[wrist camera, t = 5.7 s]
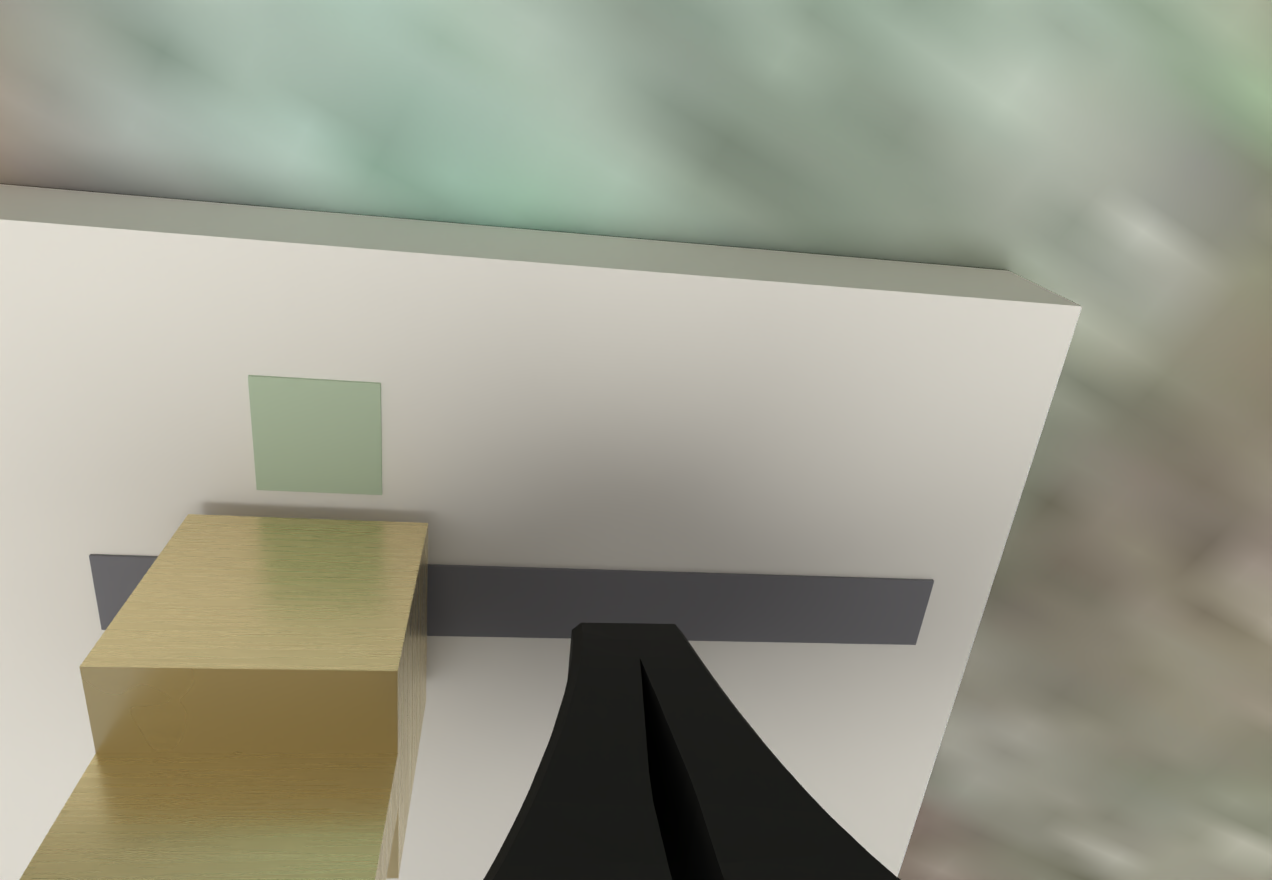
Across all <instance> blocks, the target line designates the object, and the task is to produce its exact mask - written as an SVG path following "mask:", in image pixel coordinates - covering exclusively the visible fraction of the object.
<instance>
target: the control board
mask: <svg viewBox="0 0 1272 880" xmlns="http://www.w3.org/2000/svg"><path fill="white" fill-rule="evenodd" d="M1081 309H1082V306H1080V305H1078V304H1076V303H1074V302H1072V301H1070V300H1068V299H1066V298H1064V297H1062V296H1060V295H1058V294H1056V293H1054V292H1052V291H1050V290H1048V289H1045V288H1043V287H1041V286H1039V285H1037V284H1035V283H1033V282H1031V281H1029V280H1027V279H1025V278H1023V277H1021V276H1019V275H1017V274H1015V273H1013V272H1011V271H1007V270H996V269H984V268H972V267H961V266H949V265H937V264H926V263H914V262H903V261H891V260H879V259H868V258H856V257H844V256H833V255H821V254H809V253H798V252H786V251H774V250H763V249H751V248H739V247H728V246H716V245H704V244H693V243H681V242H669V241H658V240H646V239H635V238H623V237H611V236H600V235H588V234H576V233H565V232H553V231H541V230H530V229H518V228H506V227H495V226H483V225H471V224H460V223H448V222H436V221H425V220H413V219H401V218H390V217H378V216H367V215H355V214H343V213H332V212H320V211H308V210H297V209H285V208H273V207H262V206H250V205H238V204H227V203H215V202H203V201H192V200H180V199H168V198H157V197H145V196H133V195H122V194H110V193H99V192H87V191H75V190H64V189H52V188H40V187H29V186H17V185H5V184H0V880H19V879H20V878H21V876H22V874H23V873H24V871H25V870H26V868H27V866H28V865H29V863H30V861H31V860H32V858H33V856H34V855H35V853H36V851H37V850H38V848H39V846H40V845H41V843H42V841H43V840H44V838H45V836H46V835H47V833H48V831H49V830H50V828H51V826H52V825H53V823H54V822H55V820H56V818H57V817H58V815H59V813H60V812H61V810H62V808H63V807H64V805H65V803H66V802H67V800H68V798H69V797H70V795H71V793H72V792H73V790H74V788H75V787H76V785H77V783H78V782H79V780H80V778H81V777H82V775H83V774H84V772H85V770H86V769H87V767H88V765H89V764H90V762H91V760H92V759H93V757H94V755H95V754H96V752H95V747H94V742H93V736H92V731H91V726H90V721H89V715H88V710H87V705H86V699H85V694H84V689H83V683H82V678H81V673H80V668H79V667H80V665H81V664H82V662H83V661H84V660H85V658H86V657H87V655H88V654H89V653H90V651H91V650H92V648H93V647H94V646H95V644H96V643H97V641H98V640H99V639H100V637H101V636H102V634H103V633H104V632H105V630H106V629H107V627H108V626H109V625H110V623H111V622H112V620H113V619H114V618H115V616H116V615H117V613H118V612H119V610H120V609H121V608H122V606H123V605H124V603H125V602H126V601H127V599H128V598H129V596H130V595H131V594H132V592H133V591H134V589H135V588H136V587H137V585H138V584H139V582H140V581H141V580H142V578H143V577H144V575H145V574H146V573H147V571H148V570H149V568H150V567H151V566H152V564H153V563H154V561H155V560H156V559H157V557H158V556H159V554H160V553H161V552H162V550H163V549H164V547H165V546H166V545H167V543H168V542H169V540H170V539H171V538H172V536H173V535H174V533H175V532H176V531H177V529H178V528H179V526H180V525H181V524H182V522H183V521H184V519H185V518H186V517H187V515H188V514H197V515H225V516H252V517H279V518H306V519H333V520H360V521H387V522H414V523H428V577H427V662H426V704H425V711H424V717H423V724H422V730H421V737H420V743H419V749H418V756H417V762H416V769H415V775H414V782H413V788H412V795H411V801H410V808H409V814H408V821H407V827H406V833H405V840H404V846H403V853H402V859H401V866H400V872H399V878H390V879H386V880H483V879H484V877H485V876H486V874H487V872H488V870H489V869H490V867H491V865H492V864H493V862H494V860H495V858H496V856H497V854H498V853H499V851H500V849H501V847H502V845H503V843H504V841H505V839H506V837H507V835H508V833H509V831H510V829H511V827H512V825H513V823H514V821H515V819H516V817H517V815H518V813H519V811H520V809H521V807H522V804H523V802H524V800H525V798H526V796H527V794H528V791H529V789H530V787H531V784H532V782H533V779H534V777H535V774H536V772H537V769H538V767H539V765H540V762H541V760H542V757H543V755H544V752H545V750H546V747H547V745H548V742H549V740H550V737H551V734H552V731H553V728H554V725H555V721H556V718H557V715H558V712H559V709H560V705H561V702H562V699H563V696H564V692H565V688H566V684H567V679H568V667H569V656H570V644H571V632H572V629H573V628H575V627H576V626H577V625H579V624H580V623H648V624H675V625H676V626H677V627H678V628H679V629H680V630H681V631H682V632H683V634H684V635H685V637H686V638H687V640H688V641H689V643H690V644H691V646H692V647H693V649H694V650H695V652H696V653H697V655H698V656H699V657H700V659H701V660H702V662H703V663H704V665H705V666H706V667H707V669H708V670H709V672H710V673H711V674H712V676H713V677H714V679H715V680H716V681H717V683H718V684H719V685H720V687H721V688H722V690H723V691H724V692H725V694H726V695H727V696H728V698H729V699H730V700H731V702H732V703H733V704H734V706H735V707H736V708H737V709H738V711H739V712H740V713H741V714H742V716H743V717H744V718H745V719H746V721H747V722H748V723H749V724H750V726H751V727H752V728H753V729H754V731H755V732H756V733H757V734H758V736H759V737H760V738H761V739H762V741H763V742H764V743H765V744H766V746H767V747H768V748H769V749H770V750H771V751H772V753H773V754H774V755H775V756H776V757H777V758H778V760H779V761H780V762H781V763H782V764H783V765H784V767H785V768H786V769H787V770H788V771H789V772H790V773H791V774H792V775H793V777H794V778H795V779H796V780H797V781H798V782H799V783H800V784H801V785H802V787H803V788H804V789H805V790H806V791H807V792H808V793H809V794H810V795H811V796H812V797H813V798H814V799H815V800H816V802H817V803H818V804H819V805H820V806H821V807H822V808H823V809H824V810H825V811H826V812H827V813H828V814H829V815H830V816H831V817H832V818H833V819H834V820H835V821H836V822H837V823H838V824H839V825H840V826H841V827H842V828H843V829H845V830H846V831H847V832H848V833H849V834H850V835H851V836H852V837H853V838H854V839H855V840H856V841H857V842H858V843H859V844H860V845H861V846H863V847H864V848H865V849H866V850H867V851H868V852H869V853H870V854H871V855H872V856H873V857H875V858H876V859H877V860H878V861H879V862H880V863H881V864H883V865H884V866H885V867H886V868H887V869H888V870H889V871H891V872H892V873H893V874H894V875H895V876H896V877H898V874H899V871H900V868H901V865H902V862H903V859H904V856H905V853H906V850H907V847H908V843H909V840H910V837H911V834H912V831H913V828H914V825H915V822H916V819H917V816H918V813H919V809H920V806H921V803H922V800H923V797H924V794H925V791H926V788H927V785H928V782H929V779H930V776H931V772H932V769H933V766H934V763H935V760H936V757H937V754H938V751H939V748H940V745H941V742H942V738H943V735H944V732H945V729H946V726H947V723H948V720H949V717H950V714H951V711H952V708H953V704H954V701H955V698H956V695H957V692H958V689H959V686H960V683H961V680H962V677H963V674H964V670H965V667H966V664H967V661H968V658H969V655H970V652H971V649H972V646H973V643H974V640H975V636H976V633H977V630H978V627H979V624H980V621H981V618H982V615H983V612H984V609H985V606H986V602H987V599H988V596H989V593H990V590H991V587H992V584H993V581H994V578H995V575H996V572H997V568H998V565H999V562H1000V559H1001V556H1002V553H1003V550H1004V547H1005V544H1006V541H1007V538H1008V535H1009V531H1010V528H1011V525H1012V522H1013V519H1014V516H1015V513H1016V510H1017V507H1018V504H1019V501H1020V497H1021V494H1022V491H1023V488H1024V485H1025V482H1026V479H1027V476H1028V473H1029V470H1030V467H1031V463H1032V460H1033V457H1034V454H1035V451H1036V448H1037V445H1038V442H1039V439H1040V436H1041V433H1042V429H1043V426H1044V423H1045V420H1046V417H1047V414H1048V411H1049V408H1050V405H1051V402H1052V399H1053V395H1054V392H1055V389H1056V386H1057V383H1058V380H1059V377H1060V374H1061V371H1062V368H1063V365H1064V361H1065V358H1066V355H1067V352H1068V349H1069V346H1070V343H1071V340H1072V337H1073V334H1074V331H1075V328H1076V324H1077V321H1078V318H1079V315H1080V312H1081Z"/></svg>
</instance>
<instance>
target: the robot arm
mask: <svg viewBox="0 0 1272 880" xmlns="http://www.w3.org/2000/svg"><path fill="white" fill-rule="evenodd" d="M483 880H900V879H899V878H898V877H896V876H895V875H894V874H893V873H892V872H891V871H889V870H888V869H887V868H886V867H885V866H884V865H883V864H881V863H880V862H879V861H878V860H877V859H876V858H875V857H873V856H872V855H871V854H870V853H869V852H868V851H867V850H866V849H865V848H864V847H863V846H861V845H860V844H859V843H858V842H857V841H856V840H855V839H854V838H853V837H852V836H851V835H850V834H849V833H848V832H847V831H846V830H845V829H843V828H842V827H841V826H840V825H839V824H838V823H837V822H836V821H835V820H834V819H833V818H832V817H831V816H830V815H829V814H828V813H827V812H826V811H825V810H824V809H823V808H822V807H821V806H820V805H819V804H818V803H817V802H816V800H815V799H814V798H813V797H812V796H811V795H810V794H809V793H808V792H807V791H806V790H805V789H804V788H803V787H802V785H801V784H800V783H799V782H798V781H797V780H796V779H795V778H794V777H793V775H792V774H791V773H790V772H789V771H788V770H787V769H786V768H785V767H784V765H783V764H782V763H781V762H780V761H779V760H778V758H777V757H776V756H775V755H774V754H773V753H772V751H771V750H770V749H769V748H768V747H767V746H766V744H765V743H764V742H763V741H762V739H761V738H760V737H759V736H758V734H757V733H756V732H755V731H754V729H753V728H752V727H751V726H750V724H749V723H748V722H747V721H746V719H745V718H744V717H743V716H742V714H741V713H740V712H739V711H738V709H737V708H736V707H735V706H734V704H733V703H732V702H731V700H730V699H729V698H728V696H727V695H726V694H725V692H724V691H723V690H722V688H721V687H720V685H719V684H718V683H717V681H716V680H715V679H714V677H713V676H712V674H711V673H710V672H709V670H708V669H707V667H706V666H705V665H704V663H703V662H702V660H701V659H700V657H699V656H698V655H697V653H696V652H695V650H694V649H693V647H692V646H691V644H690V643H689V641H688V640H687V638H686V637H685V635H684V634H683V632H682V631H681V630H680V629H679V628H678V627H677V626H676V625H675V624H648V623H580V624H579V625H577V626H576V627H575V628H573V629H572V632H571V644H570V656H569V667H568V679H567V684H566V688H565V692H564V696H563V699H562V702H561V705H560V709H559V712H558V715H557V718H556V721H555V725H554V728H553V731H552V734H551V737H550V740H549V742H548V745H547V747H546V750H545V752H544V755H543V757H542V760H541V762H540V765H539V767H538V769H537V772H536V774H535V777H534V779H533V782H532V784H531V787H530V789H529V791H528V794H527V796H526V798H525V800H524V802H523V804H522V807H521V809H520V811H519V813H518V815H517V817H516V819H515V821H514V823H513V825H512V827H511V829H510V831H509V833H508V835H507V837H506V839H505V841H504V843H503V845H502V847H501V849H500V851H499V853H498V854H497V856H496V858H495V860H494V862H493V864H492V865H491V867H490V869H489V870H488V872H487V874H486V876H485V877H484V879H483Z"/></svg>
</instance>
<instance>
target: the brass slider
mask: <svg viewBox="0 0 1272 880" xmlns="http://www.w3.org/2000/svg"><path fill="white" fill-rule="evenodd" d="M427 577H428V523H414V522H387V521H360V520H333V519H306V518H279V517H252V516H225V515H197V514H188V515H187V517H186V518H185V519H184V521H183V522H182V524H181V525H180V526H179V528H178V529H177V531H176V532H175V533H174V535H173V536H172V538H171V539H170V540H169V542H168V543H167V545H166V546H165V547H164V549H163V550H162V552H161V553H160V554H159V556H158V557H157V559H156V560H155V561H154V563H153V564H152V566H151V567H150V568H149V570H148V571H147V573H146V574H145V575H144V577H143V578H142V580H141V581H140V582H139V584H138V585H137V587H136V588H135V589H134V591H133V592H132V594H131V595H130V596H129V598H128V599H127V601H126V602H125V603H124V605H123V606H122V608H121V609H120V610H119V612H118V613H117V615H116V616H115V618H114V619H113V620H112V622H111V623H110V625H109V626H108V627H107V629H106V630H105V632H104V633H103V634H102V636H101V637H100V639H99V640H98V641H97V643H96V644H95V646H94V647H93V648H92V650H91V651H90V653H89V654H88V655H87V657H86V658H85V660H84V661H83V662H82V664H81V665H80V667H79V668H80V673H81V678H82V683H83V689H84V694H85V699H86V705H87V710H88V715H89V721H90V726H91V731H92V736H93V742H94V747H95V752H96V754H95V755H94V757H93V759H92V760H91V762H90V764H89V765H88V767H87V769H86V770H85V772H84V774H83V775H82V777H81V778H80V780H79V782H78V783H77V785H76V787H75V788H74V790H73V792H72V793H71V795H70V797H69V798H68V800H67V802H66V803H65V805H64V807H63V808H62V810H61V812H60V813H59V815H58V817H57V818H56V820H55V822H54V823H53V825H52V826H51V828H50V830H49V831H48V833H47V835H46V836H45V838H44V840H43V841H42V843H41V845H40V846H39V848H38V850H37V851H36V853H35V855H34V856H33V858H32V860H31V861H30V863H29V865H28V866H27V868H26V870H25V871H24V873H23V874H22V876H21V878H20V879H19V880H386V879H390V878H399V872H400V866H401V859H402V853H403V846H404V840H405V833H406V827H407V821H408V814H409V808H410V801H411V795H412V788H413V782H414V775H415V769H416V762H417V756H418V749H419V743H420V737H421V730H422V724H423V717H424V711H425V704H426V662H427Z"/></svg>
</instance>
